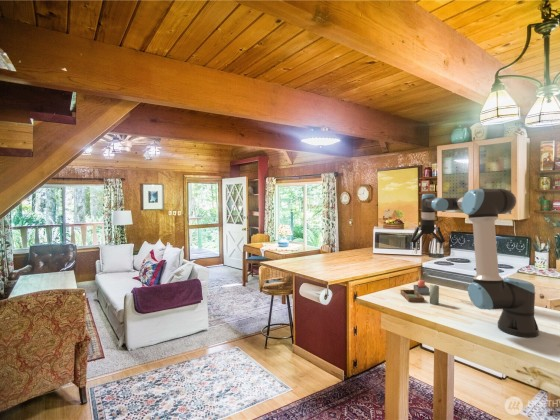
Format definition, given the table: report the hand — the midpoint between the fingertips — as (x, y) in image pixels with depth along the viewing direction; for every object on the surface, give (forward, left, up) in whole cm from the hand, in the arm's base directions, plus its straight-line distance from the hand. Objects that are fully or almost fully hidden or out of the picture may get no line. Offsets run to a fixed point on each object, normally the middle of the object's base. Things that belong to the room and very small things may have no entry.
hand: (427, 253), depth 204 cm
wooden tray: (-9, +12, -25) cm, 29 cm away
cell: (-19, +3, -25) cm, 31 cm away
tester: (+1, +3, -25) cm, 25 cm away
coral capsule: (+1, +3, -23) cm, 24 cm away
